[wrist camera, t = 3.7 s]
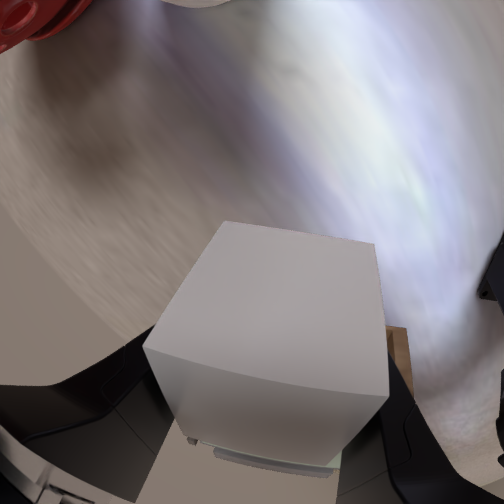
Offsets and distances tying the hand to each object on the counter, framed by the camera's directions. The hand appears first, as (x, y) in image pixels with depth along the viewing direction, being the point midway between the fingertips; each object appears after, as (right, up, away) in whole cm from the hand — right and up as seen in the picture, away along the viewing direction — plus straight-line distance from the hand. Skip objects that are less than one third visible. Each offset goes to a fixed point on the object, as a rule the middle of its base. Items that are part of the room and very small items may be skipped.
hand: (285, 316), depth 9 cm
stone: (0, +1, +1) cm, 1 cm away
